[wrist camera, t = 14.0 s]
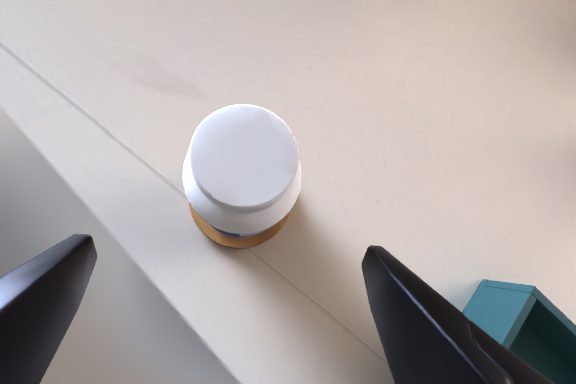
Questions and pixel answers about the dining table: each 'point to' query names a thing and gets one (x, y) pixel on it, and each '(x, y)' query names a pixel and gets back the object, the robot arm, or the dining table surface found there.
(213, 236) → the coaster
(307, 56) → the dining table surface
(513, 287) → the bin
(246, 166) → the pill bottle
